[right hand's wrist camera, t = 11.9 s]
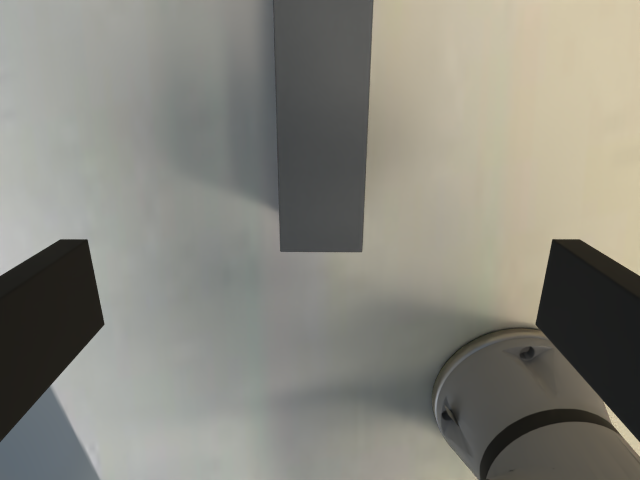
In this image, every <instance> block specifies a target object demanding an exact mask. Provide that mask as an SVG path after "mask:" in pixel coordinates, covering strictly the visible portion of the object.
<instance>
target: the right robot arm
mask: <svg viewBox="0 0 640 480" xmlns="http://www.w3.org/2000/svg"><path fill="white" fill-rule="evenodd" d="M103 326H104V320H103V315H102V310H101V305H100V300H99V295H98V290H97V285H96V280H95V275H94V270H93V265H92V260H91V255H90V250H89V245H88V240H87V239H60V240H59V241H57V242H55V243H54V244H52V245H50V246H49V247H47V248H46V249H44V250H42V251H41V252H39V253H37V254H36V255H34V256H32V257H31V258H29V259H27V260H26V261H24V262H23V263H21V264H19V265H18V266H16V267H14V268H13V269H11V270H9V271H8V272H6V273H4V274H3V275H1V276H0V442H1V441H2V439H3V438H4V437H5V436H6V435H7V434H8V433H9V432H10V430H11V429H12V428H13V427H14V426H15V425H16V424H17V423H18V421H19V420H20V419H21V418H22V417H23V416H24V415H25V414H26V412H27V411H28V410H29V409H30V408H31V407H32V406H33V404H34V403H35V402H36V401H37V400H38V399H39V398H40V397H41V395H42V394H43V393H44V392H45V391H46V390H47V389H48V388H49V386H50V385H51V384H52V383H53V382H54V381H55V380H56V379H57V377H58V376H59V375H60V374H61V373H62V372H63V371H64V370H65V368H66V367H67V366H68V365H69V364H70V363H71V362H72V361H73V359H74V358H75V357H76V356H77V355H78V354H79V353H80V351H81V350H82V349H83V348H84V347H85V346H86V345H87V344H88V342H89V341H90V340H91V339H92V338H93V337H94V336H95V335H96V333H97V332H98V331H99V330H100V329H101V328H102V327H103ZM536 326H537V327H538V328H539V329H540V330H541V331H540V330H535V329H526V328H515V329H506V330H500V331H496V332H492V333H490V334H487V335H484V336H482V337H479V338H477V339H475V340H473V341H471V342H470V343H468V344H467V345H465V346H463V347H462V348H461V349H460V350H458V351H457V352H456V353H455V354H454V355H453V356H452V357H451V358H450V359H449V360H448V361H447V362H446V363H445V365H444V366H443V367H442V369H441V371H440V372H439V374H438V376H437V378H436V381H435V384H434V387H433V392H432V407H433V412H434V415H435V418H436V421H437V424H438V427H439V429H440V431H441V433H442V435H443V437H444V438H445V440H446V441H447V443H448V444H449V445H450V446H451V448H452V449H453V450H454V451H455V452H456V454H457V455H458V456H459V457H460V458H461V459H462V461H463V462H464V463H465V464H466V465H467V466H468V468H469V469H470V470H471V471H472V472H473V474H474V475H475V476H476V477H477V478H478V479H479V480H640V457H639V455H638V454H637V453H636V452H635V451H634V450H633V448H632V447H631V446H630V445H629V444H628V443H627V442H626V440H625V439H624V438H623V437H622V436H621V435H620V433H619V432H618V431H617V430H616V429H615V428H614V426H613V425H612V424H611V421H610V418H609V416H608V413H607V410H606V407H605V405H604V402H605V403H606V404H607V406H608V407H609V408H610V409H611V410H612V411H613V412H614V414H615V415H616V416H617V417H618V418H619V419H620V420H621V421H622V423H623V424H624V425H625V426H626V427H627V428H628V429H629V430H630V432H631V433H632V434H633V435H634V436H635V437H636V438H637V439H638V441H639V442H640V276H639V275H637V274H636V273H634V272H632V271H631V270H629V269H627V268H626V267H624V266H622V265H621V264H619V263H617V262H616V261H614V260H613V259H611V258H609V257H608V256H606V255H604V254H603V253H601V252H599V251H598V250H596V249H594V248H593V247H591V246H590V245H588V244H586V243H585V242H583V241H581V240H580V239H552V245H551V250H550V255H549V260H548V265H547V270H546V275H545V280H544V285H543V290H542V295H541V300H540V305H539V310H538V315H537V320H536ZM603 401H604V402H603Z"/></svg>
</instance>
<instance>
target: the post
mask: <svg viewBox="0 0 640 480" xmlns="http://www.w3.org/2000/svg"><path fill="white" fill-rule="evenodd" d="M273 7H274V43H275V79H276V115H277V151H278V187H279V223H280V251H281V252H362V245H363V222H364V200H365V177H366V154H367V131H368V109H369V86H370V63H371V41H372V18H373V0H273Z"/></svg>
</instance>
